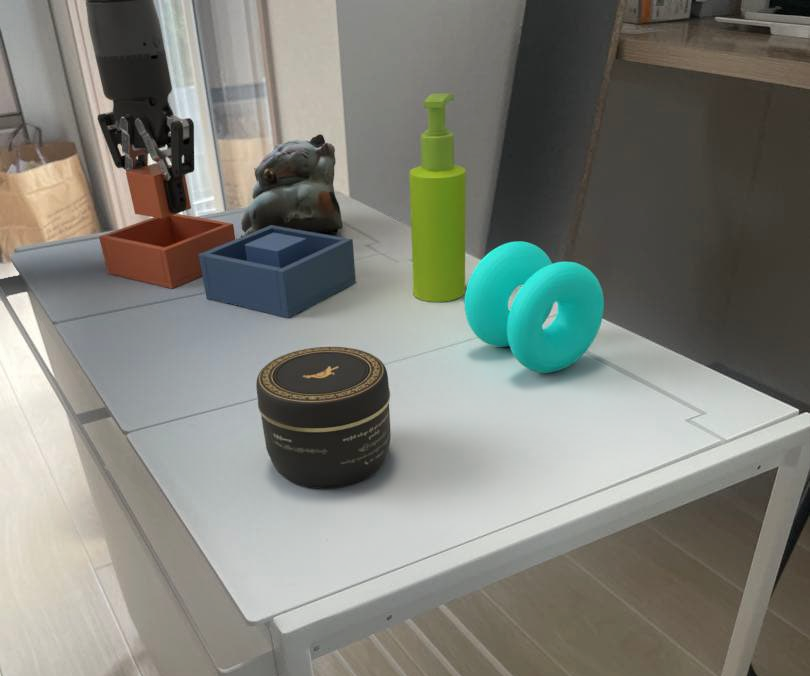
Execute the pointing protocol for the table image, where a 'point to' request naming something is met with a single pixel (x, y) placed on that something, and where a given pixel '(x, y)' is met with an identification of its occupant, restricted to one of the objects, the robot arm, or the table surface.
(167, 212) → the terracotta block
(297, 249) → the blue block
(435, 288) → the soap dispenser
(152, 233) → the terracotta bin
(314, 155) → the lucky cat figurine
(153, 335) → the table surface
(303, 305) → the blue bin
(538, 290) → the donuts
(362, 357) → the jar
